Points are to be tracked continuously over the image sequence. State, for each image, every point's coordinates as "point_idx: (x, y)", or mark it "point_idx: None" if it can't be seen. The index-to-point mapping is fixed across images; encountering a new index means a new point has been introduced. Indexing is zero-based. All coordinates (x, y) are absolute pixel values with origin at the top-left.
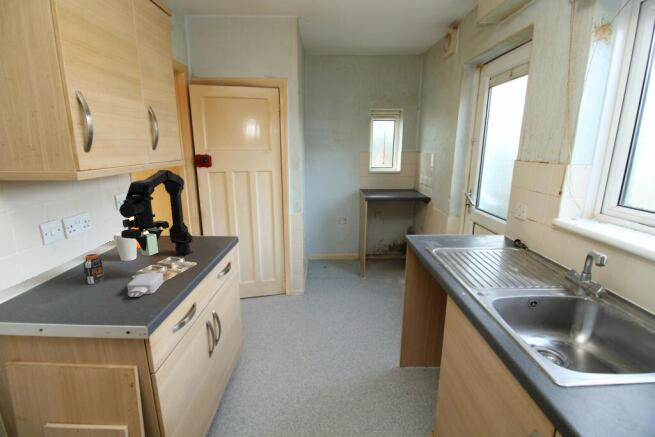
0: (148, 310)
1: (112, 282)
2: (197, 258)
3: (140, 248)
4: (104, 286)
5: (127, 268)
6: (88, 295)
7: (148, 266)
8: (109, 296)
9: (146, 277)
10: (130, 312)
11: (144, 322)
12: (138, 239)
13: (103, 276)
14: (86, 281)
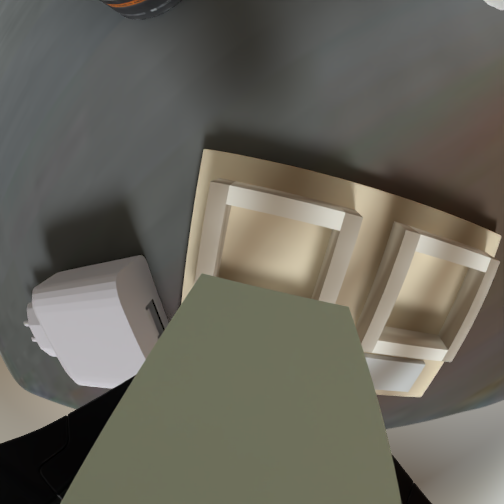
0: (40, 375)
1: (142, 78)
2: (493, 352)
3: (169, 329)
4: (97, 84)
5: (366, 14)
6: (30, 107)
7: (321, 212)
8: (34, 203)
9: (94, 349)
10: (17, 338)
11: (19, 380)
12: (21, 482)
13: (156, 4)
14: None
